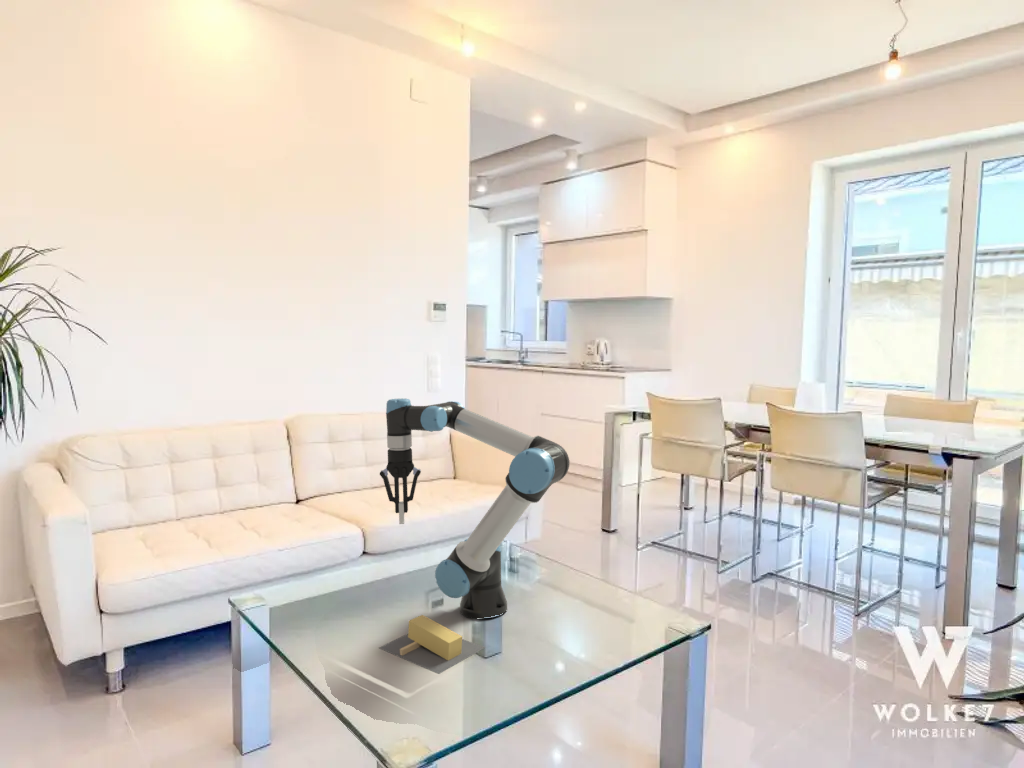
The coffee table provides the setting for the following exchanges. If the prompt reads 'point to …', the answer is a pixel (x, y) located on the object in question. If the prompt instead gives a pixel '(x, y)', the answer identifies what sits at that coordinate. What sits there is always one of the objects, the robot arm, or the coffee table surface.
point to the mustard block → (435, 637)
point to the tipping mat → (428, 653)
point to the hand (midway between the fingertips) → (402, 522)
